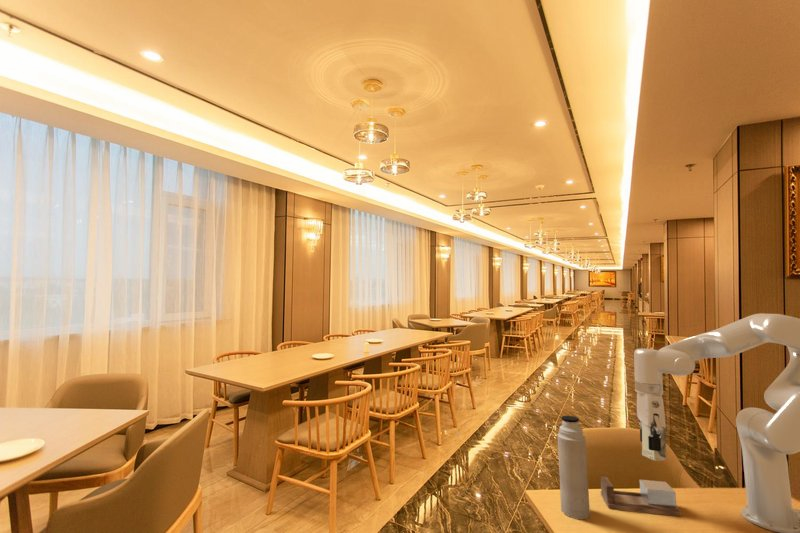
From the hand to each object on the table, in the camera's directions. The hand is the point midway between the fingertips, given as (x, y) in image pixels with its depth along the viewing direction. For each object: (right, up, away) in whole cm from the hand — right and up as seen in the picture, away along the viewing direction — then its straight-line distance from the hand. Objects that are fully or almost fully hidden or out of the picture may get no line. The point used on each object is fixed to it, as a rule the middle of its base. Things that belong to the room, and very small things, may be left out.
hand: (650, 445), depth 118 cm
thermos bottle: (-26, -18, -4) cm, 32 cm away
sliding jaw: (+1, -17, -2) cm, 17 cm away
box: (+1, -4, 0) cm, 4 cm away
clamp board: (-4, -18, -1) cm, 19 cm away
